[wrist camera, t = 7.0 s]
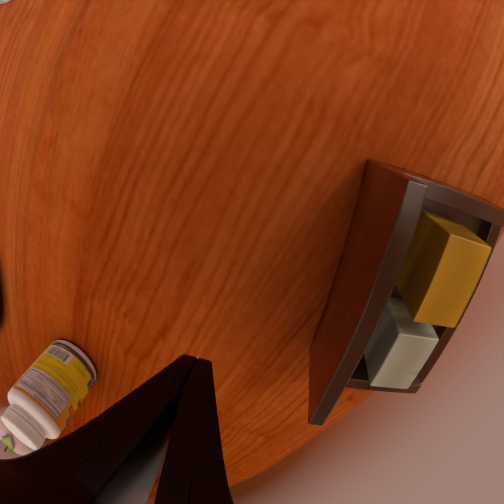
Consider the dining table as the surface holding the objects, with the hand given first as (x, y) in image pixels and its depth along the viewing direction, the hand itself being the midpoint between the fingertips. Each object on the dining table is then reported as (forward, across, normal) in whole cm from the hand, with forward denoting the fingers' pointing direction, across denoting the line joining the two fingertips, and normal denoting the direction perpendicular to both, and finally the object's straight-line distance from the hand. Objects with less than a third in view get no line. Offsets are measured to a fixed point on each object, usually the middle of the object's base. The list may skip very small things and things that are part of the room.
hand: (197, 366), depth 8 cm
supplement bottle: (+9, +14, +15) cm, 23 cm away
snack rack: (+9, -9, 0) cm, 13 cm away
